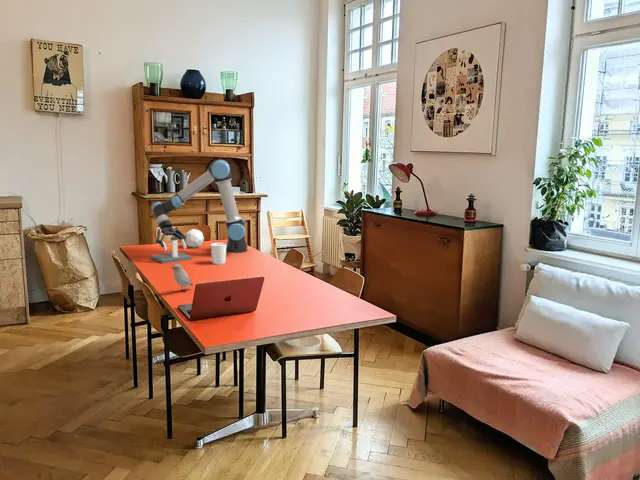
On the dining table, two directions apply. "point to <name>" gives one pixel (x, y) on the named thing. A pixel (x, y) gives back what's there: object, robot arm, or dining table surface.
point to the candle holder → (218, 253)
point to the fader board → (170, 257)
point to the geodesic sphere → (194, 238)
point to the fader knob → (174, 246)
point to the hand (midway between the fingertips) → (176, 249)
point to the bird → (181, 276)
